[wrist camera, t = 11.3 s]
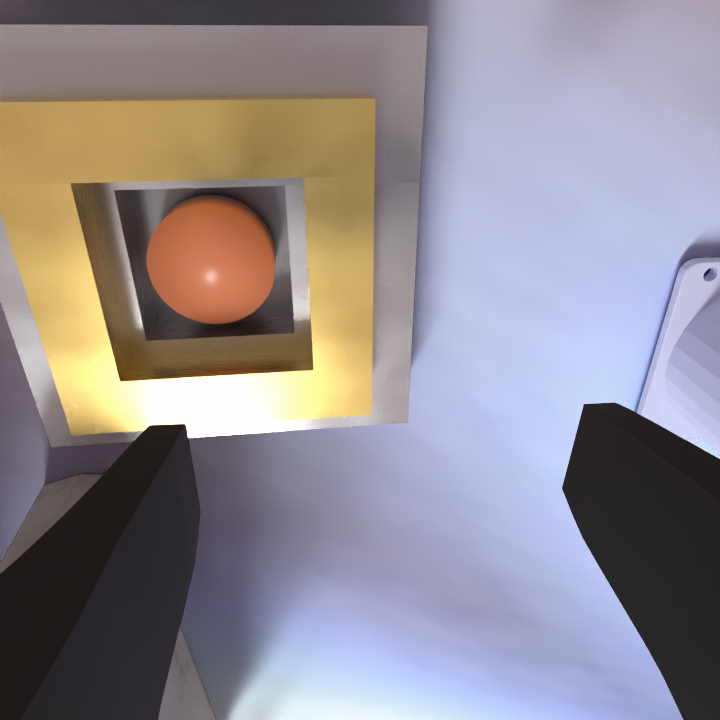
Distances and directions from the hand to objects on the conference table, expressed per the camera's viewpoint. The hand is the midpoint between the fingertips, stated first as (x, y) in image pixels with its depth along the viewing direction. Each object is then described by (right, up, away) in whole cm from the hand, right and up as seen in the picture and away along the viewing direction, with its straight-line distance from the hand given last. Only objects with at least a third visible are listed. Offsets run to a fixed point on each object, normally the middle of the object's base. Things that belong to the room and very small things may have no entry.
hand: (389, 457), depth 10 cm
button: (-5, +5, +7) cm, 10 cm away
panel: (-5, +5, +8) cm, 11 cm away
